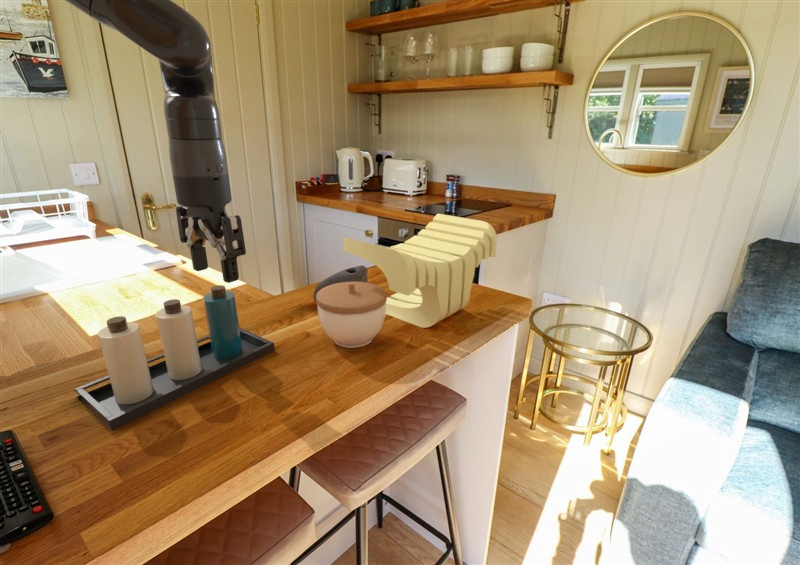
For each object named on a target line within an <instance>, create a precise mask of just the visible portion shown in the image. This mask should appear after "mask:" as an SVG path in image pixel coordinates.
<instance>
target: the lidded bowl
mask: <svg viewBox="0 0 800 565" xmlns="http://www.w3.org/2000/svg"><path fill="white" fill-rule="evenodd" d="M387 297H388V293H387V291H386V290H385V289H384V287H382V286H381V285H378V284H375V283H371V282H367V283H366V282H342V283H336V284H332V285H329V286H326V287H324V288H322V289H321V290H320V291H319V292H318V293H317V295H316V302H317V303H316V302H315V303H316V305H317V315H318V320H319V323H320V327H321V328H322V330H323V332H324V333H325V335H326V336H327V337H328V338H329V339H331V340H332V341H333V342H334V344H336V345H337V346H339V347H342V348H345V349H346V348H347V349H357V348H358V349H359V348H363V347H365V346H367V345H369V344H370V343H371V342H372V341H373V339H374V338H375V337H376V336H377V335H378V334H379V333H380V332H381V330H382V328H383V326H384V324H385V319H386V314H385V313H386V300H387Z"/></svg>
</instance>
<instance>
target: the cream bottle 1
mask: <svg viewBox="0 0 800 565" xmlns="http://www.w3.org/2000/svg"><path fill="white" fill-rule="evenodd" d="M106 325H107V326H105V327H103V328H102V329H100V330H98V332H97V339H98V342H99V346H100V349H101V353H102V356H103V360H104V365H105V368H106V372H107V376H108V375H109V379H108V380H109V383H111V386H112V390H113V393H114V397H115V400H116V402H117V403H119V404H124V405H126V404H134V403H137V402H140V401H142V400H144V399H146V398H148V397H149V396H150V395H151V394H152V393H153V391H154V388H153V384H152V379H151V375H150V371H149V367H150V366H149V363H148V362H147V360H148V359H147V354H146V350H145V345H144V341H143V337H142V332H141V329H140V325H139V324H138V323H137V322H134V321H127V317H126V316H123V315H120V316H114V317H111V318H108V319H107V320H106Z"/></svg>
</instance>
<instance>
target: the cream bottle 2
mask: <svg viewBox="0 0 800 565" xmlns="http://www.w3.org/2000/svg"><path fill="white" fill-rule="evenodd" d="M162 303H163V308H160V309H159V310H157V311H156V312H155V314H154V316H155V319H156V324H157V330H158V334H159V337H160V338H159V339H160V343H161V348H162V352H163V353H164V357H163V358H164V361H165V362H166V367H167V372H168V376H169V378H171V379H173V380H184V379H189V378H192V377H194V376H196V375H197V374H199V373H200V372H201V370H202V365H201V360H200V354H199V349H198V346H199V342H198V343H197V340H198V338H197V334H196V328H195V327H196V326H195V322H194V316H193V311H192V307H191V306H189V305H185V304H181V300H180V299H177V298H176V299H175V298H173V299H169V300H165V301H164V302H162ZM163 353H162V354H163Z"/></svg>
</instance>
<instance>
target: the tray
mask: <svg viewBox="0 0 800 565" xmlns="http://www.w3.org/2000/svg"><path fill="white" fill-rule="evenodd" d="M239 328H240V335H241V342H242V350H243V351H242V353H241V354H240V355H239V356H237V357H235V358H232V359H227V360H219V359H215V358H214V357H213V355H212V349H211V343H210V341H209V342H205V343H204V344H201V345H198V349H199V354H200V360H201V365H202V370H201V372H200V373H199V374H197V375H196V376H194V377H192V378H189V379H184V380H173V379H171V378H169V376H168V372H167V367H166V362H165V360H162V361H160V362H157V363H155V364H152V365H150V366H149V371H150V375H151V379H152V384H153V388H154V391H153V393H152V394H151V395H150V396H149V397H148V398H146V399H144V400H142V401H140V402H137V403H134V404H126V405H124V404H119V403H117V402H116V400H115V397H114V393H113V390H112V386H111V382H109V383H107V384H103V385H102V386H99V387H97V388H95V389H93V390H90V391H86V390H85V389H89V388H90V387H93V386H95V385H97V384H101V383H103V382H104V381H108V380H110V379H109V375H108V374H107V375H105V376H103V377H101V378H98V379H95V380H93V381H90V382H87V383H86V384H83V385H80V386H78V387H75V388H74V389H73V390H74V391H75V392H76V393H77V394H78V396H76V399H77V400H78V401H79V402H80V403H81V404H82V405H83V406H85V407H86V408H87V409H88V410H89V411H90V412H91V413H92V414H93V415H94V416H95V417H96V418H97V419H98V420H99V421H101V422H102V424H103V425H104V426H106V427H107V428H108V429H109V430H110V431H111V432H112V431H115V430H117V429H119V428H121V427H123V426H125V425H127V424H130V423H131V422H133V421H135V420H138V419H139V418H142V417H144V416H145V415H147V414H149V413H151V412H154V411H156V410H157V409H159V408H162V407H164V406H166V405H168V404H169V403H172V402H173V401H176V400H178V399H181V398H182V397H184V396H186V395H188V394H190V393H192V392H194V391H196V390H198V389H200V388H202V387H205V386H206V385H208V384H210V383H213V382H215V381H216V380H219V379H221V378H222V377H224V376H226V375H227V376H228V375H229V374H231V373H233V372H235V371H236V370H240V369H241V368H243V367H245V366H247V365H249V364H251V363H253V362H255V361H257V360H259V359H260V358H263V357H265V356H267V355H269V354H272V353H273V352H276V350H275V349H276V348H275V342H273V341H271V340H268V339H266V338H264V337H262V336H260V335H258V334H256V333H253V332H251V331H249V330H246V329H244V328H242V327H240V326H239ZM208 339H210V337H209V334H208V335H205V336H203V337H200V338H197V343H198V344H199V343H201V342H204V341H205V340H208ZM161 358H164V353H160V354H157V355H156V356H153V357H150V358H148V359H147V362H148V364H149V363H151V362H154V361H157V360H159V359H161Z"/></svg>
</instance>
